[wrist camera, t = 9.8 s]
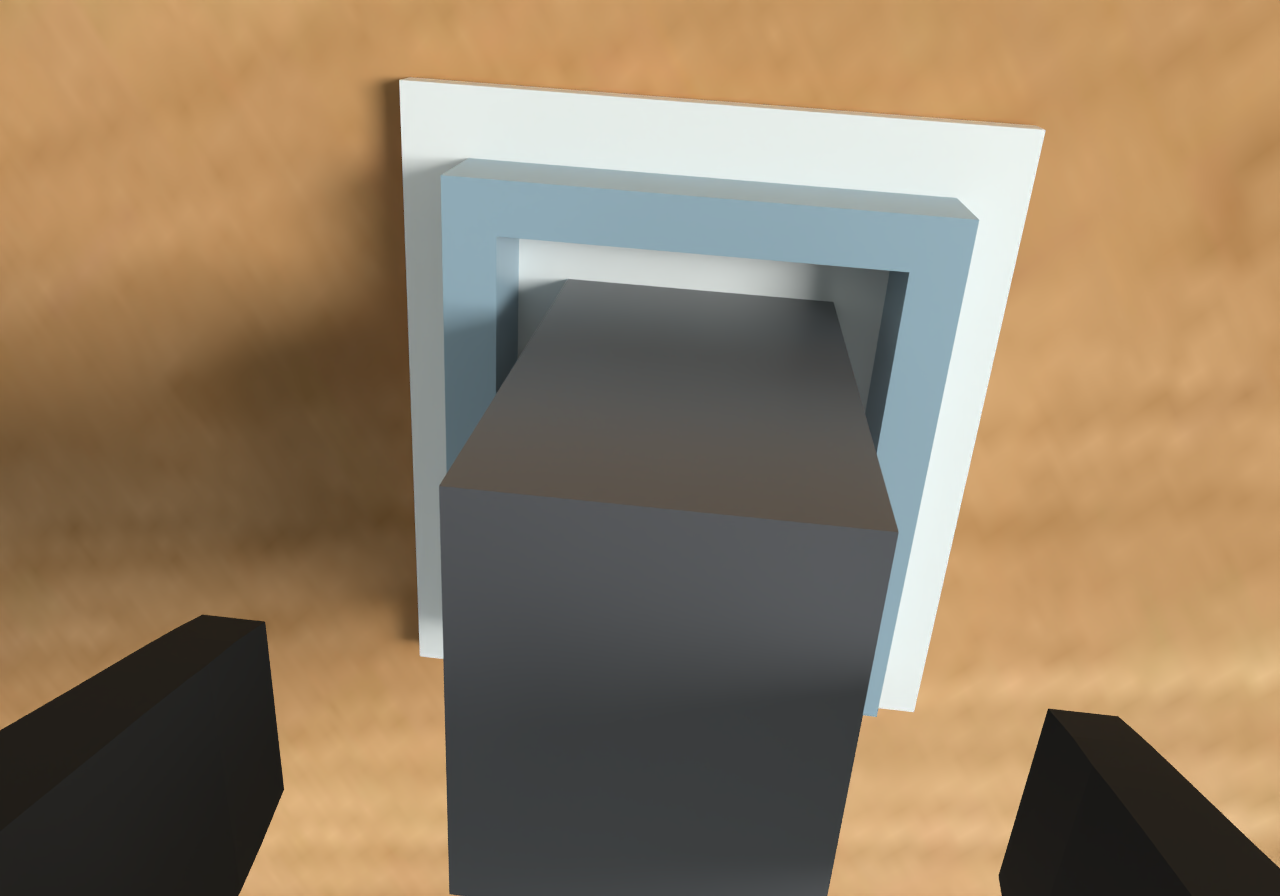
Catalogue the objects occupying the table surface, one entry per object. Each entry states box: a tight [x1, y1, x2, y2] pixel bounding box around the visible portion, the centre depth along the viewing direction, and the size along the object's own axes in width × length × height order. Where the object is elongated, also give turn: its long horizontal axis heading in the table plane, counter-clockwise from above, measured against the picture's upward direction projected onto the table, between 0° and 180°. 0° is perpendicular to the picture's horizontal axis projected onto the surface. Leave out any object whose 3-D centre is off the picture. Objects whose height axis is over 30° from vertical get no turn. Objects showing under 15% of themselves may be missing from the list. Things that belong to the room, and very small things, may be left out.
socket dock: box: [399, 77, 1045, 717], centre depth 15 cm, size 9×10×2 cm
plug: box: [439, 279, 899, 896], centre depth 13 cm, size 4×5×7 cm
